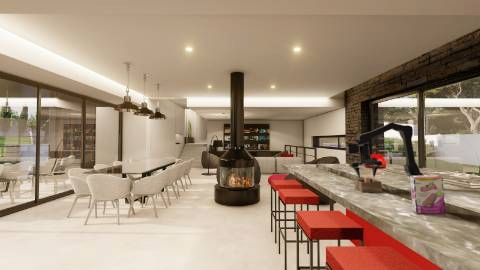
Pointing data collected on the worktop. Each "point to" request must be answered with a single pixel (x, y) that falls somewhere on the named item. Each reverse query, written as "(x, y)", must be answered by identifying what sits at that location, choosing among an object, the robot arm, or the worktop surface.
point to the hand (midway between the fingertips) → (366, 177)
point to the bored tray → (368, 185)
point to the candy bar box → (427, 194)
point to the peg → (367, 179)
